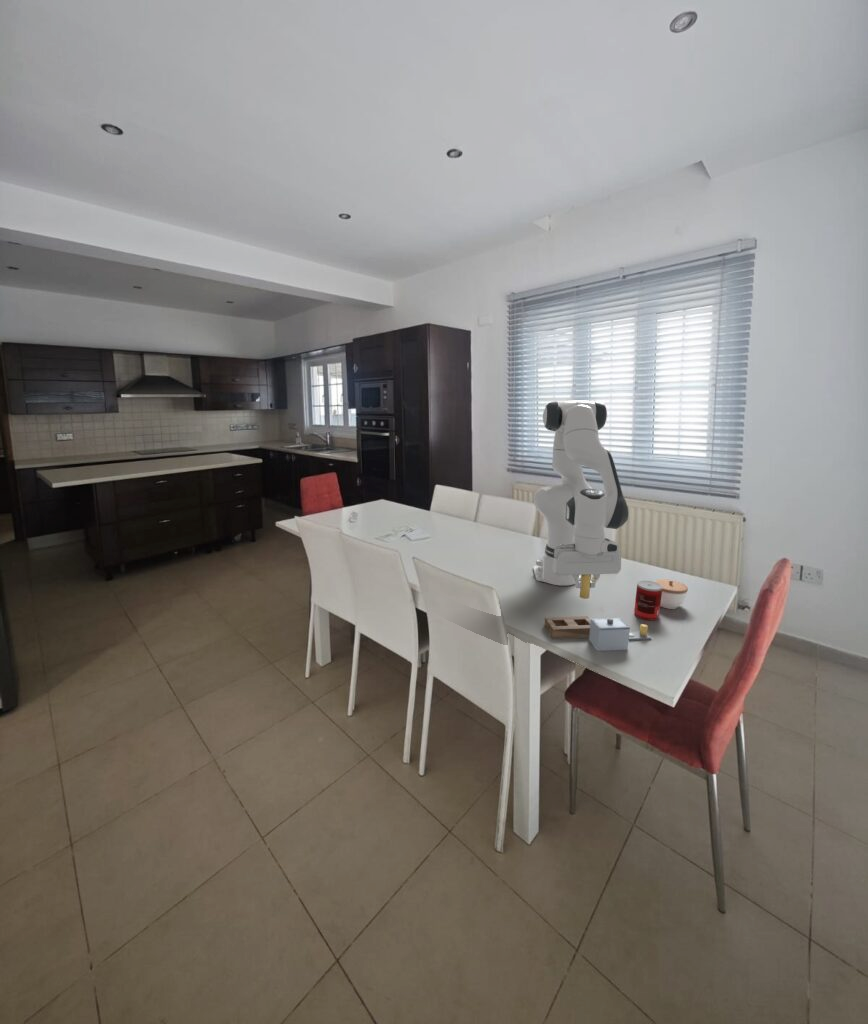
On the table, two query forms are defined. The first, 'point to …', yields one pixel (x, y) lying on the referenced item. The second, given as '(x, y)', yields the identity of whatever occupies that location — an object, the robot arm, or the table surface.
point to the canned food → (648, 600)
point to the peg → (585, 586)
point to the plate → (637, 637)
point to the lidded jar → (672, 593)
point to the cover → (609, 634)
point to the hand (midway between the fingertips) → (585, 587)
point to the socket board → (568, 626)
